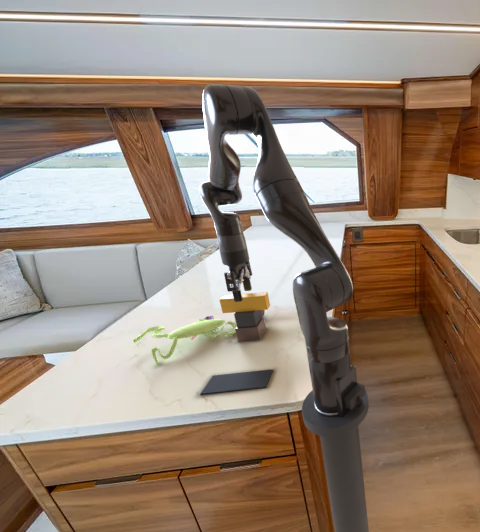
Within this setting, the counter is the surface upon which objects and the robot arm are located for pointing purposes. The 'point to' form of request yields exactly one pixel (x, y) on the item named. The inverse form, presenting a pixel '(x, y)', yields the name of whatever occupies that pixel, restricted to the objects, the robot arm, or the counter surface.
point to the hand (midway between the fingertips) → (243, 295)
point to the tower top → (247, 318)
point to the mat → (237, 381)
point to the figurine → (187, 333)
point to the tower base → (251, 332)
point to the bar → (245, 302)
